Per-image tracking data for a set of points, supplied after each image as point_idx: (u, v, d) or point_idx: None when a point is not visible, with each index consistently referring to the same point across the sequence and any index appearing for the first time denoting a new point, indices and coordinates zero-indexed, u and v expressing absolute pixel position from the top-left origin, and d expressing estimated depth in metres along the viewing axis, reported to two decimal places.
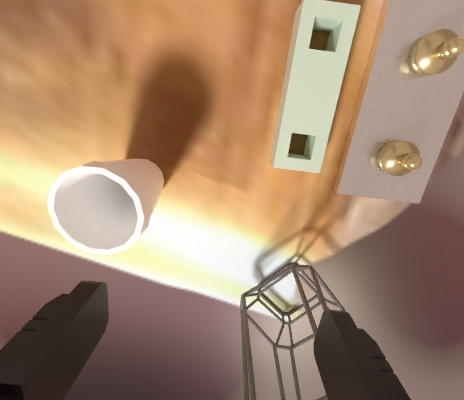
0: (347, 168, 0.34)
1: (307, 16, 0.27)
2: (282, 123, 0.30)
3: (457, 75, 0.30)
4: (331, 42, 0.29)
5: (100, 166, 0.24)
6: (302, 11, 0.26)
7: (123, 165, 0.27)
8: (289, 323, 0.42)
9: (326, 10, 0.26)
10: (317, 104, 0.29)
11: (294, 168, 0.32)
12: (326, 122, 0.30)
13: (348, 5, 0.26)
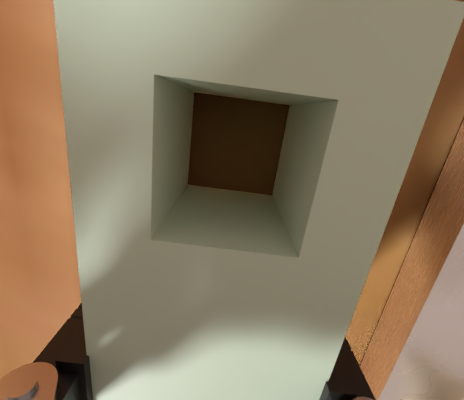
0: None
1: (110, 69, 0.04)
2: None
3: None
4: (289, 161, 0.07)
5: None
6: (64, 41, 0.04)
7: None
8: None
9: (222, 38, 0.04)
10: None
11: None
12: None
13: (378, 2, 0.04)
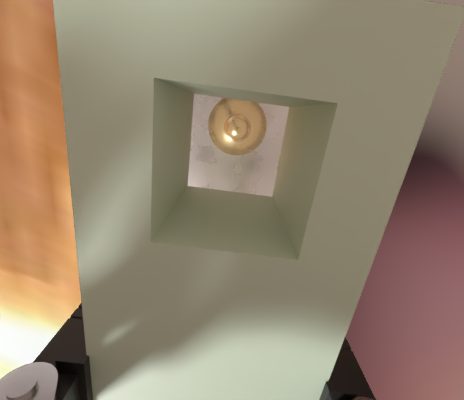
0: None
1: (111, 72, 0.04)
2: None
3: None
4: (289, 164, 0.07)
5: None
6: (64, 45, 0.04)
7: None
8: None
9: (222, 41, 0.04)
10: None
11: None
12: None
13: (377, 6, 0.04)
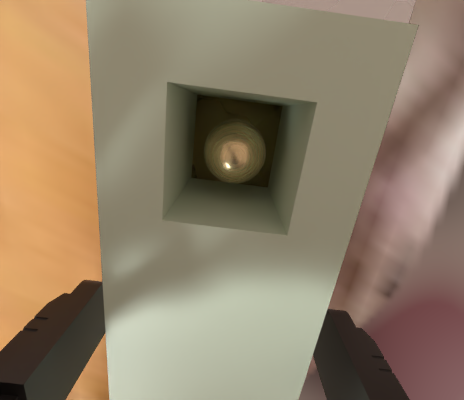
0: None
1: (131, 77, 0.05)
2: None
3: None
4: (281, 156, 0.08)
5: None
6: (95, 55, 0.05)
7: None
8: None
9: (222, 53, 0.05)
10: (228, 389, 0.08)
11: None
12: None
13: (346, 24, 0.05)
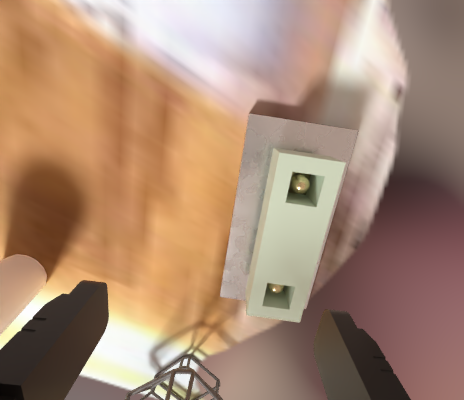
0: (227, 274, 0.33)
1: (283, 170, 0.23)
2: (256, 273, 0.26)
3: None
4: (313, 185, 0.25)
5: None
6: (277, 166, 0.23)
7: None
8: None
9: (305, 166, 0.22)
10: (295, 257, 0.25)
11: (270, 317, 0.28)
12: (306, 274, 0.26)
13: (331, 162, 0.22)
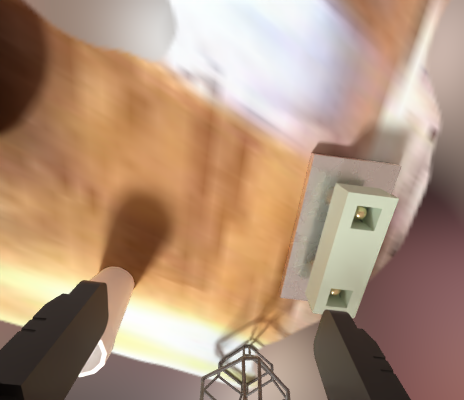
0: (287, 279, 0.40)
1: (350, 204, 0.30)
2: (322, 281, 0.33)
3: None
4: (367, 212, 0.32)
5: None
6: (346, 201, 0.29)
7: None
8: (246, 395, 0.49)
9: (367, 201, 0.29)
10: (355, 268, 0.32)
11: None
12: (362, 281, 0.33)
13: (387, 198, 0.29)
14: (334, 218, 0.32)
